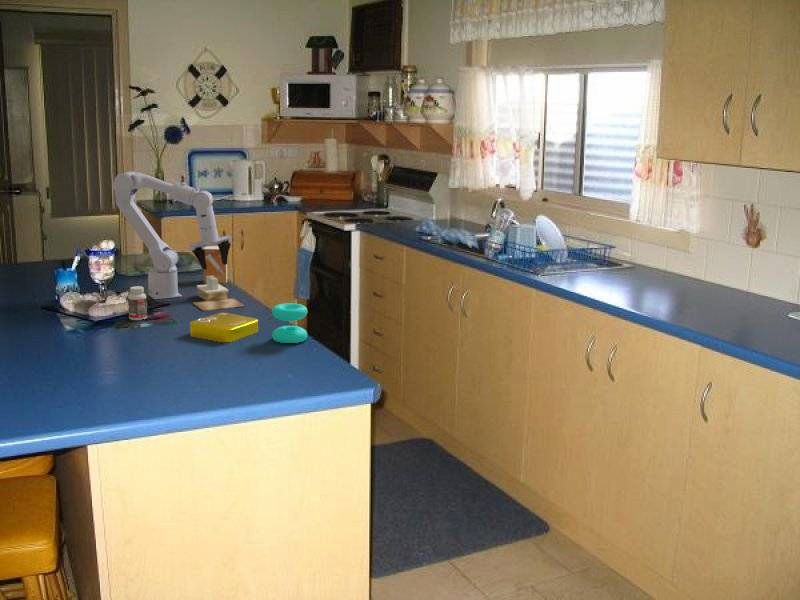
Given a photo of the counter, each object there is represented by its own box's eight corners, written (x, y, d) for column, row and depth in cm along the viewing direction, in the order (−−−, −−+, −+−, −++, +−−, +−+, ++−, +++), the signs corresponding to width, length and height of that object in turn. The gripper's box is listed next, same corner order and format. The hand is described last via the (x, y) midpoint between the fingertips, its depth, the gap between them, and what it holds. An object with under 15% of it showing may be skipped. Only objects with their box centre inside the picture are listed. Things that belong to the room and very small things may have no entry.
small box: (204, 284, 307) (203, 248, 304) (205, 280, 313) (204, 245, 310) (226, 284, 308) (225, 248, 305) (227, 280, 314) (227, 245, 311)
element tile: (227, 345, 236) (227, 328, 235) (187, 336, 243) (186, 320, 242) (261, 333, 249) (261, 317, 247) (222, 325, 256) (221, 309, 255)
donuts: (296, 312, 232) (265, 308, 236) (296, 347, 235) (265, 342, 238) (313, 304, 241) (283, 300, 245) (313, 338, 244) (283, 333, 247)
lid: (206, 296, 280) (206, 281, 279) (196, 289, 289) (196, 275, 288) (228, 293, 284) (228, 279, 283) (218, 287, 293) (217, 273, 292)
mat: (203, 311, 269) (203, 310, 269) (192, 303, 279) (192, 302, 278) (244, 306, 276) (244, 305, 276) (233, 299, 286) (233, 298, 285)
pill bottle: (140, 321, 256) (139, 290, 253) (125, 319, 257) (123, 288, 255) (150, 317, 261) (149, 286, 258) (135, 315, 262) (134, 284, 260)
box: (207, 302, 281) (207, 293, 280) (198, 295, 289) (197, 287, 289) (227, 300, 285) (227, 291, 284) (217, 293, 293) (217, 285, 292)
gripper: (193, 231, 275) (200, 272, 278) (232, 223, 283) (239, 262, 286) (183, 230, 280) (191, 270, 283) (222, 222, 289) (229, 261, 292)
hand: (214, 266), depth 285 cm, fingers open, 7 cm apart
